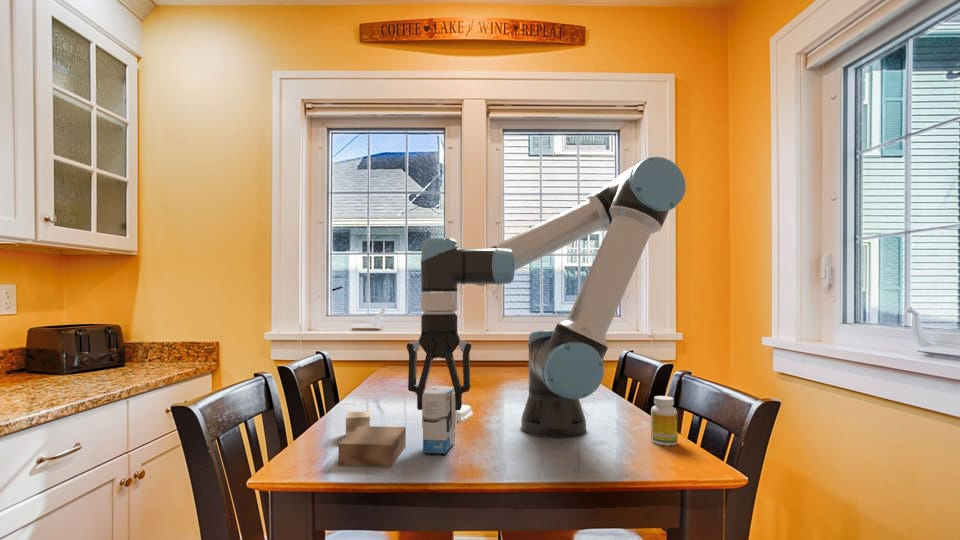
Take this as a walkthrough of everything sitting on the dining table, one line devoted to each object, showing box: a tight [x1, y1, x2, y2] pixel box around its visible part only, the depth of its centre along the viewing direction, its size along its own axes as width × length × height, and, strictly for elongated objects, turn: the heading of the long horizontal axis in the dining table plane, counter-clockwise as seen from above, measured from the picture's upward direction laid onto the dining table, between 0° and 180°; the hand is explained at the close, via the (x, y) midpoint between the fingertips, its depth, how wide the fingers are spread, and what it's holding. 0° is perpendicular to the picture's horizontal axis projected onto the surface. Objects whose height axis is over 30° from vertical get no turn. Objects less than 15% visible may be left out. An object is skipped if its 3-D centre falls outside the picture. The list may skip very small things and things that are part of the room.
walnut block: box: [337, 425, 407, 468], centre depth 96 cm, size 10×12×4 cm
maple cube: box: [345, 410, 371, 438], centre depth 109 cm, size 5×5×5 cm
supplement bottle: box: [650, 395, 679, 447], centre depth 106 cm, size 5×5×10 cm
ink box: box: [422, 385, 456, 455], centre depth 101 cm, size 8×5×12 cm, turn 169°
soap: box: [457, 404, 474, 423], centre depth 127 cm, size 9×7×3 cm
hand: (439, 425), depth 101 cm, fingers closed on ink box, 5 cm apart
